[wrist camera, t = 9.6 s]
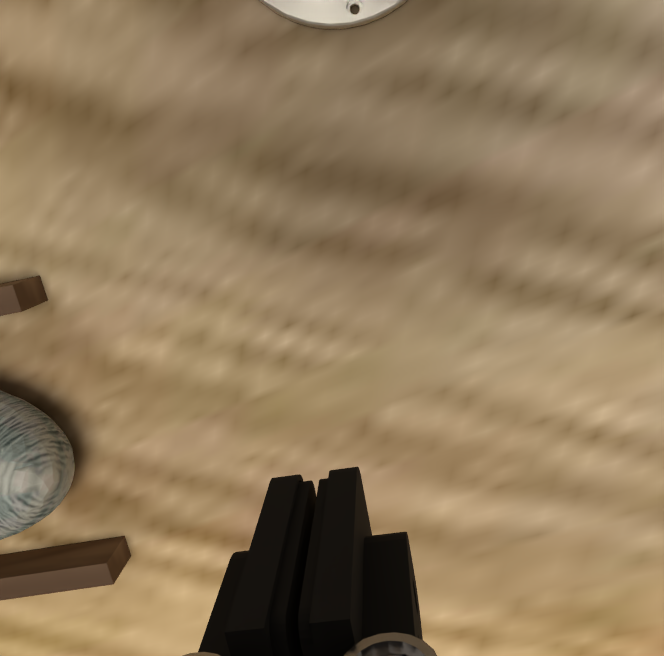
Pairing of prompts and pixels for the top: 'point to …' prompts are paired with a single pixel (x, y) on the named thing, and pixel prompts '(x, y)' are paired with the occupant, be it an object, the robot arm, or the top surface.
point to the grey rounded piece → (30, 465)
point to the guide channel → (61, 561)
